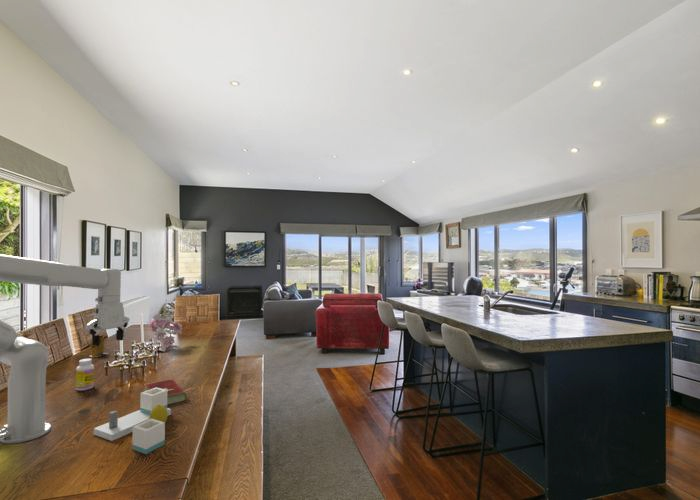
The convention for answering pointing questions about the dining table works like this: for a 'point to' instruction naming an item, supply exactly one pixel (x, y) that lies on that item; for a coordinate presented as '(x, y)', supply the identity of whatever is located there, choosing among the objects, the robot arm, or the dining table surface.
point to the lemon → (159, 413)
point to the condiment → (98, 349)
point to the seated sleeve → (152, 399)
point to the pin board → (121, 424)
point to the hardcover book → (169, 390)
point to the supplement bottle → (85, 375)
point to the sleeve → (148, 436)
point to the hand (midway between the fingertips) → (108, 342)
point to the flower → (160, 325)
